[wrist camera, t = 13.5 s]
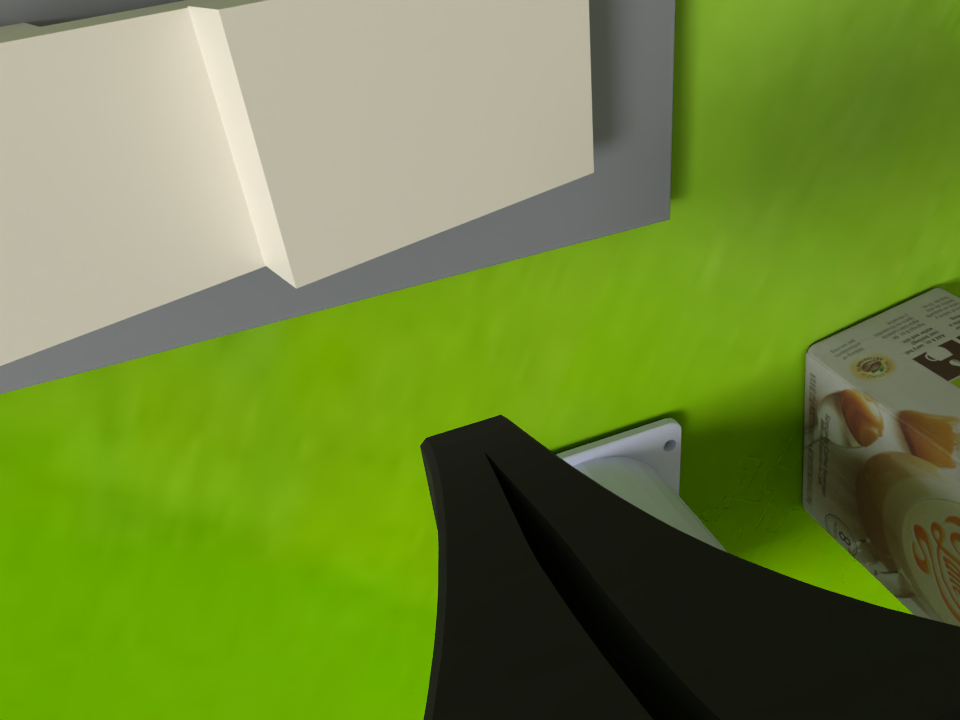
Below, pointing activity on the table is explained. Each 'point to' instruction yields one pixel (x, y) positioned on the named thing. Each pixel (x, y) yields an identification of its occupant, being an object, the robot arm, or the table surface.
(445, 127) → the domino
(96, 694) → the table surface
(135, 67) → the domino
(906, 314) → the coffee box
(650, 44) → the slate board
